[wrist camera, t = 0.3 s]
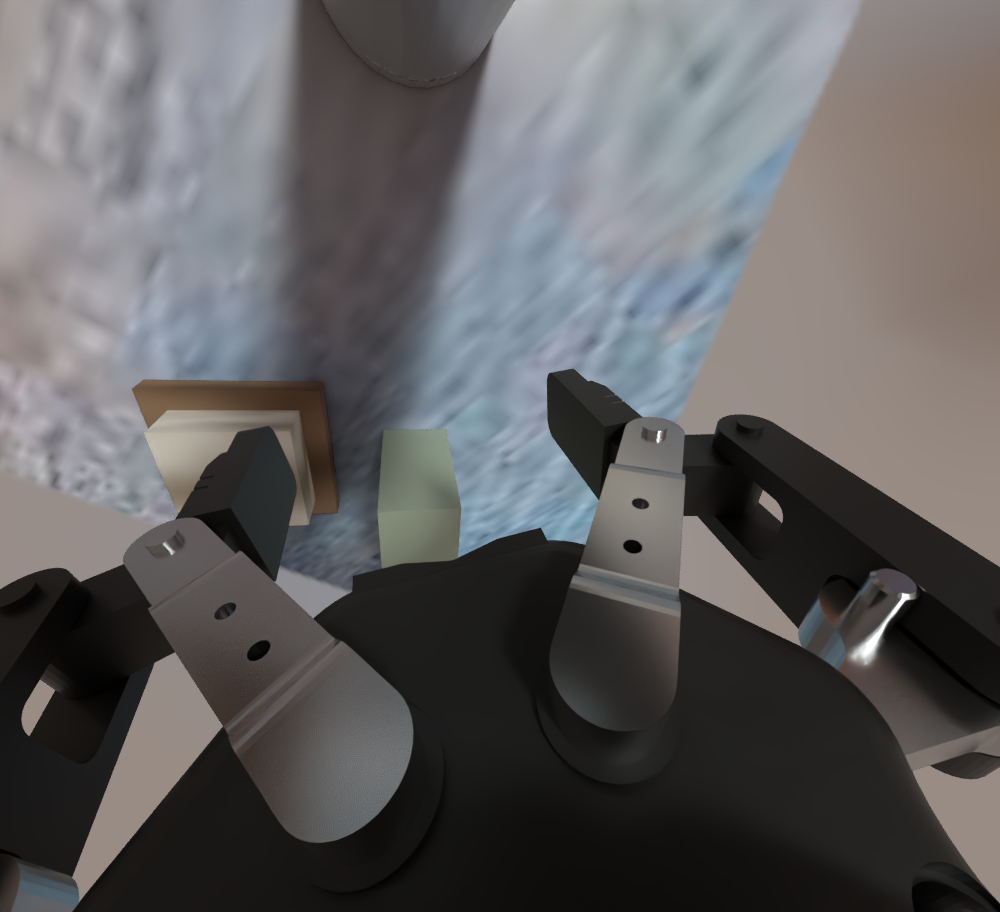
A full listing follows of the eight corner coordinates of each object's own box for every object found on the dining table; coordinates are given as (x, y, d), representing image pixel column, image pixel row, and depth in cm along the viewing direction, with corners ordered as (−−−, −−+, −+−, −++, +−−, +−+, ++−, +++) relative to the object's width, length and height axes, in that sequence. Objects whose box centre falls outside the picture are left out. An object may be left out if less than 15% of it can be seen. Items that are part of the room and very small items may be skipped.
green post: (383, 429, 32) (377, 512, 24) (446, 429, 33) (461, 507, 25) (386, 480, 35) (382, 570, 27) (444, 478, 36) (457, 563, 28)
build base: (144, 379, 27) (103, 410, 23) (322, 382, 29) (311, 410, 26) (194, 508, 33) (168, 548, 29) (339, 501, 35) (332, 538, 31)
